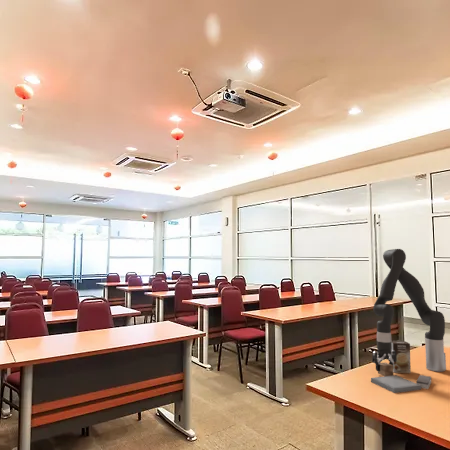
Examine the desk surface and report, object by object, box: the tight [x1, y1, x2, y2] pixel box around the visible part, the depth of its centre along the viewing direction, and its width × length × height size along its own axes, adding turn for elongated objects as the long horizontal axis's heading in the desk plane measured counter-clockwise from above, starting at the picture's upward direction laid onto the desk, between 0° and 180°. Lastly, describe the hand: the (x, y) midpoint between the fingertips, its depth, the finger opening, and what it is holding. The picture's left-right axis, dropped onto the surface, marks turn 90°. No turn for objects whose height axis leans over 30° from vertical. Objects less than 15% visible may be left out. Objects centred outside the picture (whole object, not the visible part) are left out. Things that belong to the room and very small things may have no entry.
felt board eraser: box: [415, 374, 432, 390], centre depth 184 cm, size 12×5×3 cm, turn 144°
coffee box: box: [390, 340, 412, 374], centre depth 206 cm, size 9×6×16 cm
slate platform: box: [370, 374, 422, 394], centre depth 182 cm, size 16×16×2 cm
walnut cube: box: [377, 361, 394, 377], centre depth 200 cm, size 6×6×6 cm
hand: (384, 370), depth 200 cm, fingers open, 8 cm apart
